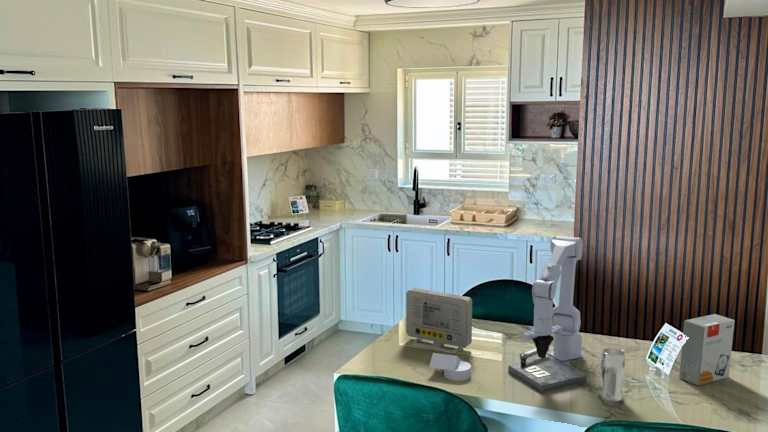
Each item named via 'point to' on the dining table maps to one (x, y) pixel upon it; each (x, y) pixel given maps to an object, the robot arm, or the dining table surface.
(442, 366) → the wedge on round base
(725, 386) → the dining table surface
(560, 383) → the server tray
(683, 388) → the dining table surface
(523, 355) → the grey ball-ended handle
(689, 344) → the hard drive box
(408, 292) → the network device
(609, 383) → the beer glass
